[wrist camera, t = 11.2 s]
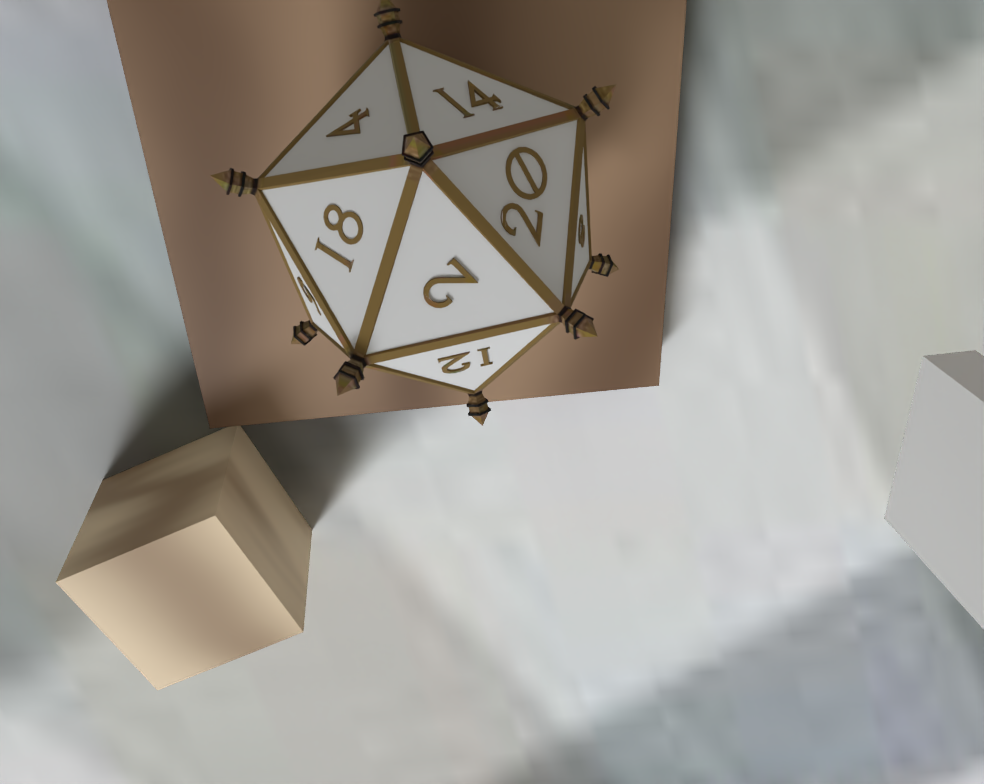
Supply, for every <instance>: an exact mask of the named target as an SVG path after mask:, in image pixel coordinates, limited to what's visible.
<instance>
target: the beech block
mask: <svg viewBox="0 0 984 784" xmlns="http://www.w3.org/2000/svg"><path fill="white" fill-rule="evenodd" d="M311 536H312V529H311V528H310V526H309V525H308V523H307V522H306V520H305V519H304V517H303V516H302V515H301V513H300V512H299V510H298V509H297V507H296V506H295V504H294V503H293V501H292V500H291V499H290V497H289V496H288V494H287V493H286V491H285V490H284V488H283V487H282V485H281V484H280V482H279V481H278V480H277V478H276V477H275V475H274V474H273V472H272V471H271V469H270V468H269V466H268V465H267V464H266V462H265V461H264V459H263V458H262V456H261V455H260V453H259V452H258V450H257V449H256V447H255V446H254V445H253V443H252V442H251V440H250V439H249V437H248V436H247V434H246V433H245V431H244V430H243V428H242V427H241V426H232V427H226V428H224V429H222V430H219V431H217V432H215V433H212V434H210V435H208V436H205V437H203V438H200V439H198V440H196V441H193V442H191V443H189V444H186V445H184V446H182V447H179V448H177V449H175V450H172V451H170V452H168V453H165V454H163V455H160V456H158V457H156V458H153V459H151V460H149V461H146V462H144V463H142V464H139V465H137V466H135V467H132V468H130V469H128V470H125V471H123V472H120V473H118V474H116V475H113V476H111V477H109V478H106V479H104V480H103V481H102V483H101V485H100V487H99V489H98V491H97V494H96V496H95V498H94V500H93V502H92V504H91V507H90V509H89V511H88V513H87V515H86V518H85V520H84V522H83V524H82V526H81V528H80V531H79V533H78V535H77V537H76V539H75V541H74V544H73V546H72V548H71V550H70V552H69V554H68V557H67V559H66V561H65V563H64V565H63V567H62V570H61V572H60V574H59V576H58V578H57V581H56V583H57V584H58V585H59V586H60V587H61V588H62V589H63V591H64V592H65V593H66V594H67V595H68V596H69V597H70V598H71V599H72V600H73V601H74V602H75V603H76V604H77V605H78V606H79V608H80V609H81V610H82V611H83V612H84V613H85V614H86V615H87V616H88V617H89V618H90V619H91V620H92V621H93V622H94V623H95V624H96V626H97V627H98V628H99V629H100V630H101V631H102V632H103V633H104V634H105V635H106V636H107V637H108V638H109V639H110V640H111V641H112V643H113V644H114V645H115V646H116V647H117V648H118V649H119V650H120V651H121V652H122V653H123V654H124V655H125V656H126V657H127V658H128V660H129V661H130V662H131V663H132V664H133V665H134V666H135V667H136V668H137V669H138V670H139V671H140V672H141V673H142V674H143V675H144V676H145V678H146V679H147V680H148V681H149V682H150V683H151V684H152V685H153V686H154V687H155V688H156V689H157V690H160V689H162V688H165V687H167V686H170V685H172V684H175V683H177V682H180V681H182V680H185V679H187V678H190V677H192V676H195V675H197V674H200V673H202V672H205V671H207V670H210V669H212V668H215V667H217V666H220V665H222V664H225V663H227V662H230V661H232V660H235V659H237V658H240V657H242V656H245V655H247V654H250V653H252V652H255V651H257V650H259V649H262V648H264V647H267V646H269V645H272V644H274V643H277V642H279V641H282V640H284V639H287V638H289V637H292V636H294V635H297V634H299V633H302V632H303V629H304V617H305V606H306V594H307V583H308V571H309V560H310V548H311Z"/></svg>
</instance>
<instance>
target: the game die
mask: <svg viewBox="0 0 984 784" xmlns="http://www.w3.org/2000/svg"><path fill="white" fill-rule="evenodd" d="M399 11H400V8H397V7H396V6H395V5H394V4H393V3H392V2H391V1H390V0H380V1H379V5H378V8H377V12H376V13H375V14H374V17H377V19H378V23H379V25H378V26H377V28H378V29H379V28H380V29H381V31H382V33H383V34H384V36H385V41H384V42H383V43H382V44H381V46H380V47H379V48H378V49H377V50H376V51H375V52H374V53H373V54H372V55H371V56H370V57H369V58H368V60H367V61H366V62H365V63H364V64H363V65H362V66H361V67H360V68H359V69H358V70H357V71H356V73H355V74H354V75H353V76H352V77H351V78H350V79H349V80H348V81H347V82H346V83H345V84H344V85H343V87H342V88H341V89H340V90H339V91H338V92H337V93H336V94H335V95H334V96H333V97H332V98H331V99H330V101H329V102H328V103H327V104H326V105H325V106H324V107H323V108H322V109H321V110H320V111H319V112H318V113H317V115H316V116H315V117H314V118H313V119H312V120H311V121H310V122H309V123H308V124H307V125H306V126H305V127H304V129H303V130H302V131H301V132H300V133H299V134H298V135H297V136H296V137H295V138H294V139H293V140H292V142H291V143H290V144H289V145H288V146H287V147H286V148H285V149H284V150H283V151H282V152H281V153H280V154H279V156H278V157H277V158H276V159H275V160H274V161H273V162H272V163H271V164H270V165H269V166H268V167H267V168H266V170H265V171H264V172H263V173H262V174H261V175H260V176H259V177H258V178H252V177H250V176H248V175H246V172H244V171H241V173H240V172H236V171H234V169H233V168H230V169H229V170H228V171H224V172H221V173H217V174H213V175H210V176H211V177H212V178H213V179H214V180H215V181H216V182H217V183H218V184H219V185H220V186H221V187H222V188H223V189H224V190H225V191H226V195H229V194H230V193H235V194H238V197H241V195H242V194H252V195H254V196H255V197H256V199H257V202H258V204H259V206H260V209H261V211H262V213H263V215H264V218H265V220H266V222H267V224H268V227H269V229H270V231H271V234H272V236H273V238H274V240H275V243H276V245H277V247H278V249H279V252H280V254H281V256H282V259H283V261H284V263H285V265H286V268H287V270H288V272H289V275H290V277H291V279H292V281H293V284H294V286H295V288H296V290H297V293H298V295H299V297H300V300H301V302H302V304H303V306H304V309H305V311H306V313H307V316H308V318H309V321H306V322H303V321H300V325H298V326H293V337H292V341H291V344H303V345H304V346H305V345H306V344H307V343H309V342H310V341H311V340H312V339H313V338H314V337H316V336H317V331H319V332H320V333H322V334H323V335H324V336H325V337H326V338H327V339H328V340H329V341H331V342H332V343H333V344H334V345H335V346H336V347H337V348H339V349H340V350H341V351H342V352H343V353H344V354H345V355H346V356H348V357H349V358H350V360H349V361H348V362H347V361H345V362H344V363H343V365H342V366H341V367H340V369H339V371H338V372H337V373H336V375H335V376H334V377H333V379H335V380H336V388H337V396H338V395H341V394H343V393H346V392H348V391H350V390H353V389H359V388H360V386H359V382H360V380H364V375H363V370H364V368H365V367H366V368H369V369H373V370H377V371H381V372H385V373H389V374H393V375H397V376H401V377H405V378H409V379H413V380H417V381H421V382H425V383H429V384H432V385H436V386H440V387H444V388H448V389H452V390H456V391H460V392H464V393H467V394H468V396H469V401H468V403H467V407H469V410H470V411H469V413H468V416H472V417H473V418H474V419H476V420H477V421H478V422H479V423H480V424H481V425H482V426H483V424H484V421H485V419H486V417H487V414H488V412H489V411H491V408H489V407H488V405H487V402H488V399H486V398H485V397H484V396H483V394H482V390H483V389H484V388H485V387H487V386H488V385H489V384H490V383H491V382H492V381H494V380H495V379H496V378H497V377H498V376H499V375H500V374H502V373H503V372H504V371H505V370H506V369H507V368H509V367H510V366H511V365H512V364H513V363H514V362H516V361H517V360H518V359H519V358H520V357H521V356H523V355H524V354H525V353H526V352H527V351H528V350H530V349H531V348H532V347H533V346H534V345H535V344H537V343H538V342H539V341H540V340H541V339H542V338H543V337H545V336H546V335H547V334H548V333H549V332H550V331H552V330H553V329H554V328H555V327H556V326H557V325H559V324H560V323H563V325H564V326H565V330H566V332H567V333H569V332H570V333H572V334H573V336H574V339H575V340H576V339H578V338H580V337H597V333H596V330H595V327H594V324H593V320H594V318H592V317H590V316H588V315H586V314H585V313H584V312H582V311H580V310H578V309H576V308H575V310H572V309H571V307H572V305H573V302H574V300H575V298H576V296H577V294H578V291H579V289H580V287H581V285H582V282H583V280H584V278H585V276H586V274H587V271H588V269H590V270H592V273H595V274H599V275H602V276H606V277H608V276H609V274H611V273H613V272H615V271H617V270H619V268H618V267H617V266H616V265H615V263H614V262H613V261H612V259H611V257H610V255H609V254H608V255H607V256H602V253H599V254H598V255H596V256H592V250H591V229H590V208H589V187H588V165H587V144H586V123H585V121H586V120H587V119H588V118H589V117H591V116H594V115H597V116H600V112H601V111H603V110H604V109H605V108H607V109H610V107H609V103H610V101H611V98H612V95H613V93H614V90H615V87H616V85H617V84H615V85H609V86H603V87H598V88H597V87H596V86H594V87H593V88H592V90H593V91H592V92H590V93H589V94H588V95H587V94H585V95H584V96H583V98H584V99H583V100H582V102H581V103H580V104H579V105H578V106H573V105H571V104H568V103H566V102H563V101H560V100H558V99H555V98H553V97H550V96H548V95H545V94H543V93H540V92H538V91H535V90H533V89H530V88H528V87H525V86H523V85H520V84H518V83H515V82H513V81H510V80H508V79H505V78H503V77H500V76H497V75H495V74H492V73H490V72H487V71H485V70H482V69H480V68H477V67H475V66H472V65H470V64H467V63H465V62H462V61H460V60H457V59H455V58H452V57H450V56H447V55H445V54H442V53H440V52H437V51H434V50H432V49H429V48H427V47H424V46H422V45H419V44H417V43H414V42H412V41H409V40H407V39H404V38H402V37H401V35H400V24H401V23H403V22H402V20H400V18H399V13H398V12H399Z"/></svg>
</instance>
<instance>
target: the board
mask: <svg viewBox="0 0 984 784" xmlns="http://www.w3.org/2000/svg"><path fill="white" fill-rule="evenodd" d="M379 1H380V0H107V3H108V7H109V12H110V16H111V20H112V24H113V28H114V32H115V37H116V41H117V45H118V49H119V53H120V57H121V61H122V66H123V70H124V74H125V78H126V82H127V86H128V90H129V95H130V99H131V103H132V107H133V111H134V115H135V119H136V124H137V128H138V132H139V136H140V140H141V144H142V149H143V153H144V157H145V161H146V165H147V169H148V173H149V178H150V182H151V186H152V190H153V194H154V198H155V202H156V207H157V211H158V215H159V219H160V223H161V227H162V231H163V236H164V240H165V244H166V248H167V252H168V256H169V261H170V265H171V269H172V273H173V277H174V281H175V285H176V290H177V294H178V298H179V302H180V306H181V310H182V314H183V319H184V323H185V327H186V331H187V335H188V339H189V344H190V348H191V352H192V356H193V360H194V364H195V368H196V373H197V377H198V381H199V385H200V389H201V393H202V397H203V402H204V406H205V410H206V414H207V418H208V422H209V426H210V429H211V428H221V427H232V426H242V425H253V424H263V423H273V422H284V421H294V420H305V419H315V418H326V417H336V416H346V415H357V414H367V413H378V412H388V411H398V410H409V409H419V408H430V407H440V406H451V405H461V404H467V403H468V401H469V396H468V394H467V393H464V392H460V391H456V390H452V389H448V388H444V387H440V386H436V385H432V384H429V383H425V382H421V381H417V380H413V379H409V378H405V377H401V376H397V375H393V374H389V373H385V372H381V371H377V370H373V369H369V368H366V367H365V368H364V370H363V375H364V380H360V382H359V386H360V388H359V389H353V390H350V391H348V392H346V393H343V394H341V395H338V396H337V388H336V380H335V379H333V377H334V376H335V375H336V373H337V372H338V371H339V369H340V367H341V366H342V365H343V363H344V362H345V361H347V362H348V361H349V360H350V358H349V357H348V356H346V355H345V354H344V353H343V352H342V351H341V350H340V349H339V348H337V347H336V346H335V345H334V344H333V343H332V342H331V341H329V340H328V339H327V338H326V337H325V336H324V335H323V334H322V333H320V332H319V331H317V336H316V337H314V338H313V339H312V340H311V341H310V342H309V343H307V344H306V345H305V346H304V345H303V344H291V341H292V337H293V326H298V325H300V321H303V322H306V321H309V318H308V316H307V313H306V311H305V309H304V306H303V304H302V302H301V300H300V297H299V295H298V293H297V290H296V288H295V286H294V284H293V281H292V279H291V277H290V275H289V272H288V270H287V268H286V265H285V263H284V261H283V259H282V256H281V254H280V252H279V249H278V247H277V245H276V243H275V240H274V238H273V236H272V234H271V231H270V229H269V227H268V224H267V222H266V220H265V218H264V215H263V213H262V211H261V209H260V206H259V204H258V202H257V199H256V197H255V196H254V195H252V194H242V195H241V197H238V194H235V193H230V194H229V195H226V191H225V190H224V189H223V188H222V187H221V186H220V185H219V184H218V183H217V182H216V181H215V180H214V179H213V178H212V177H211V176H210V175H213V174H217V173H221V172H224V171H228V170H229V169H230V168H233V169H234V171H236V172H240V173H241V171H244V172H246V175H248V176H250V177H252V178H258V177H259V176H260V175H261V174H262V173H263V172H264V171H265V170H266V168H267V167H268V166H269V165H270V164H271V163H272V162H273V161H274V160H275V159H276V158H277V157H278V156H279V154H280V153H281V152H282V151H283V150H284V149H285V148H286V147H287V146H288V145H289V144H290V143H291V142H292V140H293V139H294V138H295V137H296V136H297V135H298V134H299V133H300V132H301V131H302V130H303V129H304V127H305V126H306V125H307V124H308V123H309V122H310V121H311V120H312V119H313V118H314V117H315V116H316V115H317V113H318V112H319V111H320V110H321V109H322V108H323V107H324V106H325V105H326V104H327V103H328V102H329V101H330V99H331V98H332V97H333V96H334V95H335V94H336V93H337V92H338V91H339V90H340V89H341V88H342V87H343V85H344V84H345V83H346V82H347V81H348V80H349V79H350V78H351V77H352V76H353V75H354V74H355V73H356V71H357V70H358V69H359V68H360V67H361V66H362V65H363V64H364V63H365V62H366V61H367V60H368V58H369V57H370V56H371V55H372V54H373V53H374V52H375V51H376V50H377V49H378V48H379V47H380V46H381V44H382V43H383V42H384V41H385V36H384V34H383V33H382V31H381V29H380V28H379V29H378V28H377V26H378V25H379V23H378V19H377V17H374V14H375V13H376V12H377V8H378V5H379ZM390 1H391V2H392V3H393V4H394V5H395V6H396V7H397V8H400V11H399V12H398V13H399V18H400V20H402V22H403V23H401V24H400V35H401V37H402V38H404V39H407V40H409V41H412V42H414V43H417V44H419V45H422V46H424V47H427V48H429V49H432V50H434V51H437V52H440V53H442V54H445V55H447V56H450V57H452V58H455V59H457V60H460V61H462V62H465V63H467V64H470V65H472V66H475V67H477V68H480V69H482V70H485V71H487V72H490V73H492V74H495V75H497V76H500V77H503V78H505V79H508V80H510V81H513V82H515V83H518V84H520V85H523V86H525V87H528V88H530V89H533V90H535V91H538V92H540V93H543V94H545V95H548V96H550V97H553V98H555V99H558V100H560V101H563V102H566V103H568V104H571V105H573V106H578V105H579V104H580V103H581V102H582V100H583V99H584V98H583V96H584V95H585V94H587V95H588V94H589V93H590V92H592V91H593V90H592V88H593V87H594V86H596V87H597V88H598V87H603V86H609V85H615V84H617V85H616V87H615V90H614V93H613V95H612V98H611V101H610V103H609V107H610V109H607V108H605V109H604V110H603V111H601V112H600V116H597V115H594V116H591V117H589V118H588V119H587V120H586V121H585V123H586V144H587V165H588V187H589V208H590V229H591V250H592V256H596V255H598V254H599V253H602V256H607V255H608V254H609V255H610V257H611V259H612V261H613V262H614V263H615V265H616V266H617V267H618V268H619V270H617V271H615V272H613V273H611V274H609V276H608V277H606V276H602V275H599V274H595V273H592V270H590V269H588V271H587V274H586V276H585V278H584V280H583V282H582V285H581V287H580V289H579V291H578V294H577V296H576V298H575V300H574V302H573V305H572V307H571V309H572V310H575V308H576V309H578V310H580V311H582V312H584V313H585V314H586V315H588V316H590V317H592V318H594V320H593V324H594V327H595V330H596V333H597V337H580V338H578V339H576V340H575V339H574V336H573V334H572V333H570V332H569V333H567V332H566V330H565V326H564V325H563V323H560V324H559V325H557V326H556V327H555V328H554V329H553V330H552V331H550V332H549V333H548V334H547V335H546V336H545V337H543V338H542V339H541V340H540V341H539V342H538V343H537V344H535V345H534V346H533V347H532V348H531V349H530V350H528V351H527V352H526V353H525V354H524V355H523V356H521V357H520V358H519V359H518V360H517V361H516V362H514V363H513V364H512V365H511V366H510V367H509V368H507V369H506V370H505V371H504V372H503V373H502V374H500V375H499V376H498V377H497V378H496V379H495V380H494V381H492V382H491V383H490V384H489V385H488V386H487V387H485V388H484V389H483V390H482V394H483V396H484V397H485V398H486V399H488V402H492V401H503V400H513V399H523V398H534V397H544V396H555V395H565V394H576V393H586V392H596V391H607V390H617V389H628V388H638V387H649V386H659V377H660V363H661V349H662V335H663V321H664V308H665V294H666V280H667V266H668V252H669V238H670V224H671V211H672V197H673V183H674V169H675V155H676V141H677V128H678V114H679V100H680V86H681V72H682V58H683V44H684V31H685V17H686V3H687V0H390Z"/></svg>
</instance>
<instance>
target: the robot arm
mask: <svg viewBox="0 0 984 784" xmlns="http://www.w3.org/2000/svg"><path fill="white" fill-rule="evenodd" d="M884 519H885V520H886V521H887V522H888V523H889V524H890V525H891V526H892V528H893V529H894V530H895V531H896V532H897V533H898V534H899V535H900V536H901V538H902V539H903V540H904V541H905V542H906V543H907V544H908V545H909V547H910V548H911V549H912V550H913V551H914V552H915V553H916V554H917V555H918V557H919V558H920V559H921V560H922V561H923V562H924V563H925V564H926V565H927V567H928V568H929V569H930V570H931V571H932V572H933V573H934V574H935V576H936V577H937V578H938V579H939V580H940V581H941V582H942V583H943V584H944V586H945V587H946V588H947V589H948V590H949V591H950V592H951V593H952V594H953V596H954V597H955V598H956V599H957V600H958V601H959V602H960V603H961V605H962V606H963V607H964V608H965V609H966V610H967V611H968V612H969V613H970V615H971V616H972V617H973V618H974V619H975V620H976V621H977V622H978V623H979V625H980V626H981V627H982V628H983V629H984V356H983V355H981V354H980V353H978V352H977V351H975V350H974V351H965V352H956V353H946V354H937V355H928V356H923V358H922V362H921V366H920V370H919V374H918V379H917V383H916V387H915V391H914V395H913V399H912V404H911V408H910V412H909V416H908V420H907V425H906V429H905V433H904V437H903V441H902V446H901V450H900V454H899V458H898V462H897V467H896V471H895V475H894V479H893V483H892V487H891V492H890V496H889V500H888V504H887V508H886V513H885V517H884Z"/></svg>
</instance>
